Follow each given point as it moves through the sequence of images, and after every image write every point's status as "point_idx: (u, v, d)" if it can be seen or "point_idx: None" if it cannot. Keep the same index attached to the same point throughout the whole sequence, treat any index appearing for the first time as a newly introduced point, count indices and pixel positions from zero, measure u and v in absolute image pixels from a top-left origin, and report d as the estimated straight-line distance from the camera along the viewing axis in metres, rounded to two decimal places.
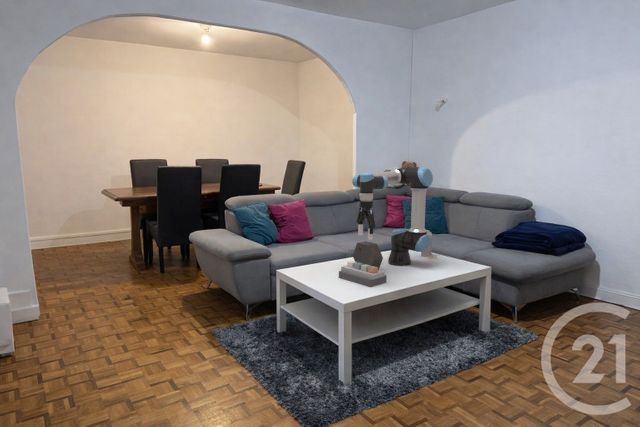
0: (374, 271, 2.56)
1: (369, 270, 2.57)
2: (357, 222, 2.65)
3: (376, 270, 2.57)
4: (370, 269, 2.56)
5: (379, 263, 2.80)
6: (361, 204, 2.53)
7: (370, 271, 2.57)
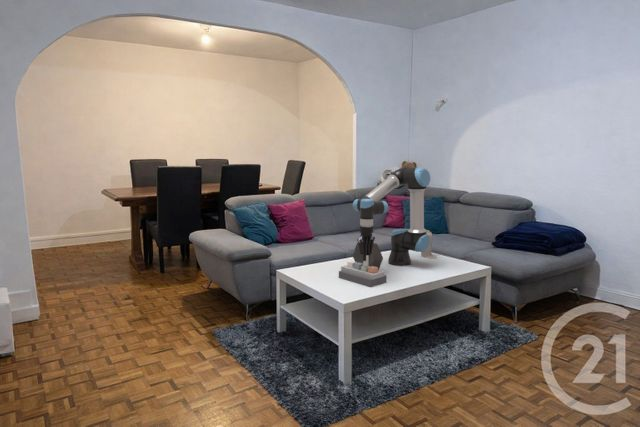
0: (374, 271, 2.56)
1: (369, 270, 2.57)
2: None
3: (376, 270, 2.57)
4: (370, 269, 2.56)
5: (379, 263, 2.80)
6: None
7: (370, 271, 2.57)
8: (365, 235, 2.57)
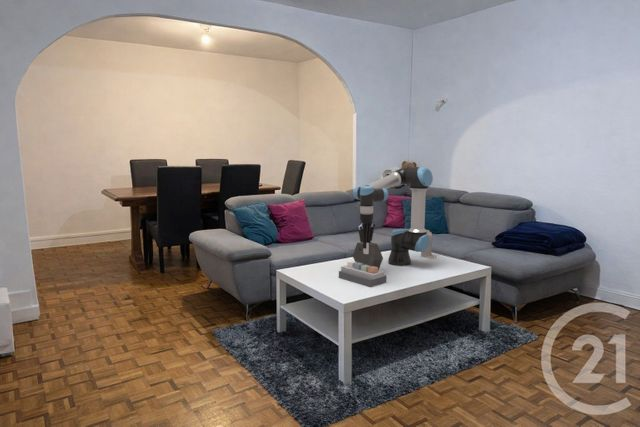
0: (374, 271, 2.56)
1: (369, 270, 2.57)
2: None
3: (376, 270, 2.57)
4: (370, 269, 2.56)
5: (379, 263, 2.80)
6: None
7: (370, 271, 2.57)
8: (365, 222, 2.56)
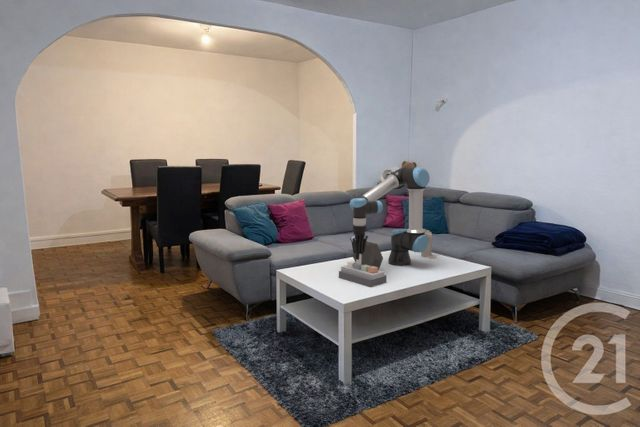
0: (374, 271, 2.56)
1: (369, 270, 2.57)
2: None
3: (376, 270, 2.57)
4: (370, 269, 2.56)
5: (379, 263, 2.80)
6: None
7: (370, 271, 2.57)
8: (358, 234, 2.61)
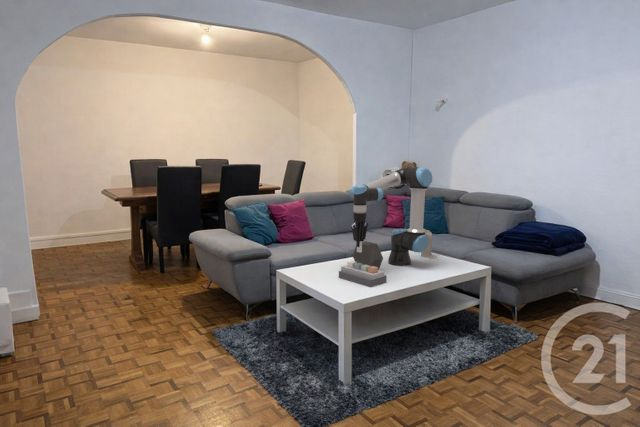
0: (374, 271, 2.56)
1: (369, 270, 2.57)
2: None
3: (376, 270, 2.57)
4: (370, 269, 2.56)
5: (379, 263, 2.80)
6: None
7: (370, 271, 2.57)
8: (358, 221, 2.60)
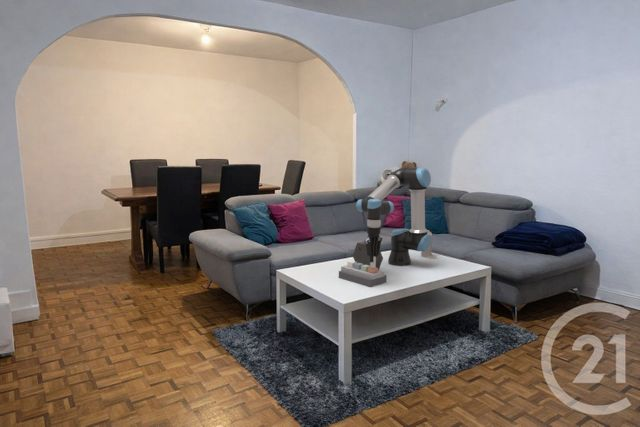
0: (374, 272, 2.56)
1: (369, 271, 2.57)
2: None
3: (376, 271, 2.57)
4: (370, 270, 2.56)
5: (379, 263, 2.80)
6: None
7: (370, 272, 2.57)
8: (372, 236, 2.53)
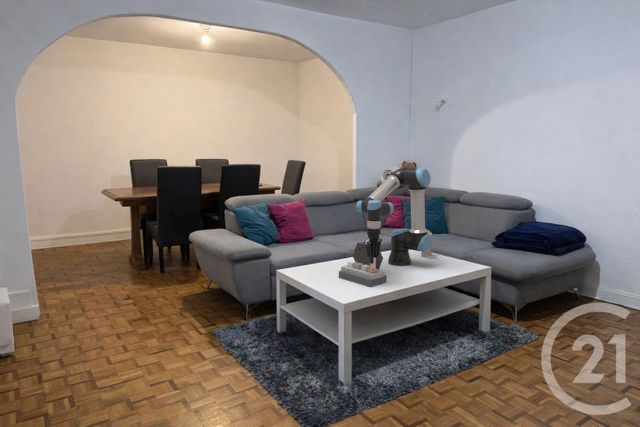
0: None
1: (369, 272, 2.57)
2: None
3: (376, 272, 2.57)
4: (370, 271, 2.57)
5: (379, 263, 2.80)
6: None
7: None
8: (372, 237, 2.53)
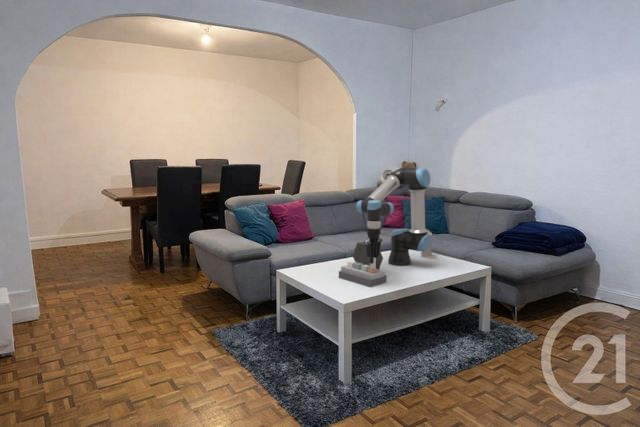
0: None
1: (369, 272, 2.57)
2: None
3: (376, 272, 2.57)
4: (370, 271, 2.57)
5: (379, 263, 2.80)
6: None
7: None
8: (372, 237, 2.53)
